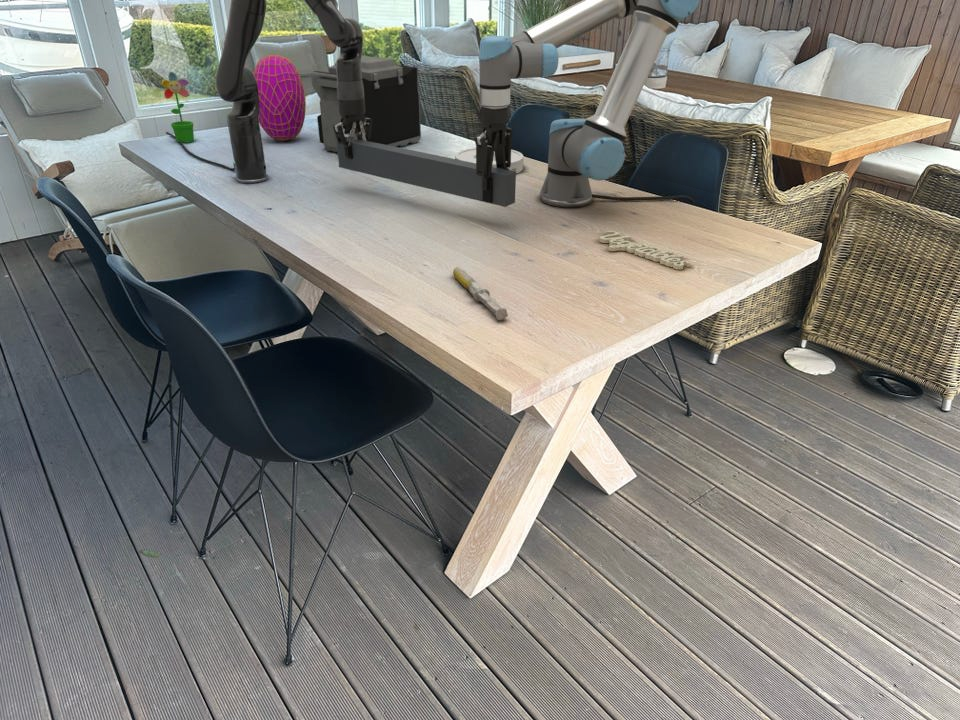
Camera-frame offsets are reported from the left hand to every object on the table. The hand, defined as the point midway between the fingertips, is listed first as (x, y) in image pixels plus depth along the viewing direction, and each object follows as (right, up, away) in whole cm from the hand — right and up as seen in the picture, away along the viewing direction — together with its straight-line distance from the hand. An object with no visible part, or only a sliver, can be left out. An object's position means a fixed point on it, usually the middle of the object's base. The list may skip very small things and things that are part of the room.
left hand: (355, 156), depth 205 cm
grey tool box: (-4, +20, +54) cm, 57 cm away
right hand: (+41, -18, -24) cm, 51 cm away
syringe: (+37, -47, -60) cm, 85 cm away
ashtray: (+40, +5, +29) cm, 50 cm away
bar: (+20, -11, -11) cm, 26 cm away
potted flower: (-75, +23, +57) cm, 97 cm away
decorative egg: (-38, +24, +60) cm, 75 cm away
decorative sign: (+76, -34, -37) cm, 91 cm away
